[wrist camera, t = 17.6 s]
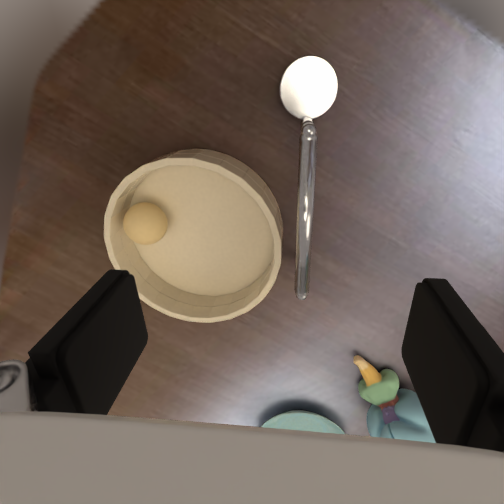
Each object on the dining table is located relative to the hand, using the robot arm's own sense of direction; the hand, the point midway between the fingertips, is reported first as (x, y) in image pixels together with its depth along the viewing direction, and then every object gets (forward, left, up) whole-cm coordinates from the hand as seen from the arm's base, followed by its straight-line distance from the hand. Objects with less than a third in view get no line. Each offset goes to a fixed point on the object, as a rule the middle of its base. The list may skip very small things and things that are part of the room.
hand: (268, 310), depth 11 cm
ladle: (0, +2, -21) cm, 21 cm away
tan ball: (+5, -13, -17) cm, 21 cm away
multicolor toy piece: (+25, +12, -21) cm, 35 cm away
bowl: (+6, -8, -21) cm, 23 cm away
